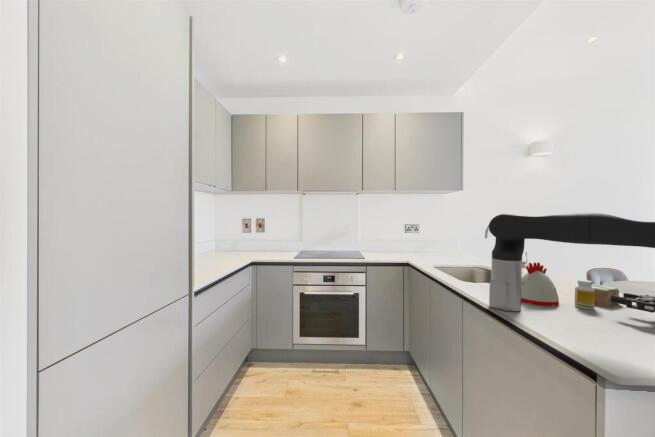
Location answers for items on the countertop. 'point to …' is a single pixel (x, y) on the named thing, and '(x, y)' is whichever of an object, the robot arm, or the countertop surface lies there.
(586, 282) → the supplement bottle
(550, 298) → the grey and red dome
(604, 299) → the stand
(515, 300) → the robot arm
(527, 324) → the countertop surface
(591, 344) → the countertop surface
